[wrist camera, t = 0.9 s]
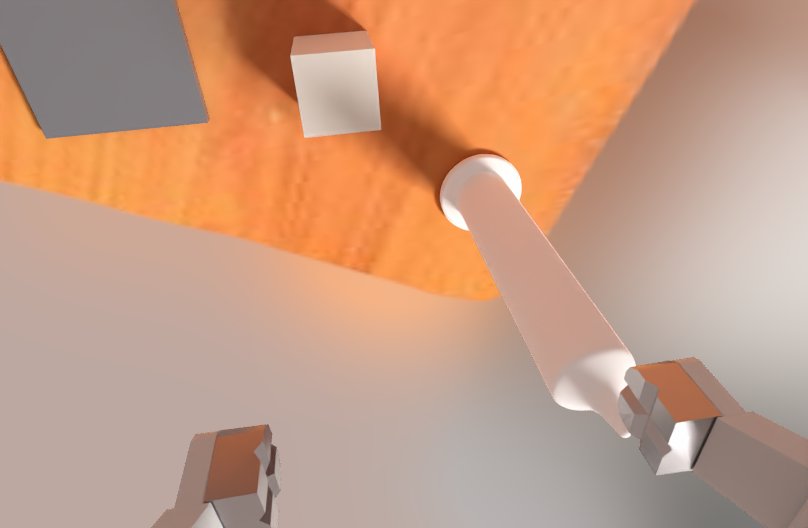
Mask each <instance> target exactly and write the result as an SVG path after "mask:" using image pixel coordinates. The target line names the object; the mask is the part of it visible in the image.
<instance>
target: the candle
mask: <svg viewBox="0 0 808 528" xmlns="http://www.w3.org/2000/svg"><path fill="white" fill-rule="evenodd" d="M521 189H522V187H521V179H520V176H519V174H518V172H517V170H516V169H515V167H514V166H513V165H512V164H511V163H510V162H509V161H507V160H506V159H504V158H502V157H500V156H497V155H493V154H479V155H474V156H471V157H468V158H466V159H464V160H462V161H461V162H459V163H458V164H457V165H455V166H454V167H453V168H452V169H451V170H450V171H449V173H448V174H447V176H446V177H445V179H444V181H443V183H442V186H441V190H440V204H441V208H442V210H443V212H444V214H445V216H446V217H447V219H448V220H449V221H450V222H451V223H452V224H454V225H455V226H457V227H459V228H461V229H464V230H468V231H470V233H471V235H472V237H473V239H474V241H475V243H476V245H477V247H478V249H479V251H480V253H481V255H482V257H483V259H484V261H485V263H486V265H487V267H488V269H489V271H490V273H491V275H492V277H493V279H494V281H495V283H496V285H497V287H498V289H499V291H500V293H501V295H502V297H503V299H504V301H505V303H506V305H507V307H508V309H509V311H510V313H511V316H512V318H513V319H514V322H515V324H516V325H517V328H518V330H519V331H520V334H521V336H522V338H523V340H524V342H525V344H526V346H527V348H528V350H529V352H530V354H531V356H532V358H533V360H534V362H535V364H536V366H537V368H538V370H539V372H540V374H541V376H542V378H543V380H544V382H545V384H546V386H547V388H548V390H549V392H550V394H551V396H552V398H553V399H554V400H555V401H556V402H557V403H558V404H559V405H561V406H563V407H565V408H568V409H572V410H593V411H595V412H596V413H598V414H599V415H601V416H602V417H603V418H604V419H605V420H606V421H607V422H608V423H609V424H610V426H611V427H613V429H614V430H615V431H616V432H617V433H618V434H619V435H620V436H621V437H623V438H628V437H629V436H630V435H631V434H630V433H629V432H628V430H627V429H626V427H625V425H624V424H623V422H622V419H621V416H620V414H619V407H618V399H619V394H620V392H621V391H622V390H623V389H624V388H625V387H626V386H627V385H628V384H627V383H626V381H625V380H624V376H625V373H626V371H627V370H628V369H629V368H630V367H634V366H636V365H635V361H634V359H633V356H632V355H631V354H630V352H629V351H628V350H627V348H626V347H625V345H624V344H623V343H622V341H621V340H620V339H619V337H618V336H617V335H616V333H615V332H614V330H613V329H612V327H611V326H610V325H609V323H608V322H607V321H606V319H605V318H604V317H603V315H602V314H601V312H600V311H599V310H598V308H597V307H596V305H595V304H594V303H593V301H592V300H591V299H590V297H589V296H588V295H587V293H586V292H585V291H584V289H583V288H582V286H581V285H580V284H579V282H578V281H577V279H576V278H575V277H574V275H573V274H572V273H571V271H570V270H569V268H568V267H567V266H566V265H565V263H564V262H563V260H562V259H561V258H560V256H559V255H558V254H557V252H556V251H555V250H554V248H553V247H552V245H551V244H550V243H549V241H548V240H547V238H546V237H545V236H544V234H543V233H542V231H541V230H540V229H539V227H538V226H537V225H536V223H535V222H534V220H533V219H532V218H531V216H530V215H529V214H528V212H527V211H526V209H525V208H524V207H523V205H522V204H521V203H520V201H519V199H520V196H521Z"/></svg>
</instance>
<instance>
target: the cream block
mask: <svg viewBox="0 0 808 528" xmlns="http://www.w3.org/2000/svg"><path fill="white" fill-rule="evenodd" d="M290 58H291V64H292V69H293V75H294V81H295V86H296V92H297V98H298V104H299V109H300V115H301V121H302V127H303V132H304V138H308V137H317V136H327V135H337V134H347V133H357V132H366V131H376V130H381V119H380V107H379V95H378V82H377V70H376V58H375V48H374V46H373V43H372V41H371V39H370V37H369V35H368V32H367V30H365V31H354V32H342V33H330V34H318V35H306V36H294V39H293V44H292V49H291V54H290Z"/></svg>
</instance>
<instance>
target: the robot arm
mask: <svg viewBox="0 0 808 528" xmlns="http://www.w3.org/2000/svg"><path fill="white" fill-rule="evenodd" d="M624 380H625V381H626V383H627V384H628V385H627V386H626V387H625V388H624V389H623V390H622V391H621V392H620V394H619V399H618V407H619V414H620V416H621V419H622V422H623V424H624V425H625V427H626V429H627V430H628V432H629V433H630V434H632V435H634V436H635V437H637V438H639V439H640V447H639V450H640V451H641V453H642V455H643V456H644V458H645V459H646V461H647V463H648V464H649V466H650V467H651V469H652V470H653V472H654V474H655V475H662V474H668V473H675V472H682V471H689V470H693V471H692V472H693V473H694V474H695V475H697V476H698V477H699V478H701V479H702V480H703V481H705V482H706V483H707V484H709V485H710V486H711V487H713V488H714V489H716V490H717V491H718V492H719V493H721V494H722V495H723V496H725V497H726V498H727V499H729V500H730V501H732V502H733V503H734V504H735V505H737V506H738V507H739V508H741V509H742V510H744V511H745V512H746V513H748V514H749V515H750V516H751V517H753V518H754V519H755V520H757V521H758V522H760V523H761V524H762V525H764V526H765V527H766V528H808V440H807V439H806V438H804V437H802V436H800V435H798V434H796V433H794V432H792V431H790V430H788V429H786V428H784V427H782V426H780V425H778V424H776V423H774V422H772V421H770V420H768V419H766V418H764V417H762V416H760V415H758V414H756V413H754V412H745V410H744V409H743V408H742V407H741V406H740V405H739V404H738V403H737V402H736V400H735V399H734V398H733V397H732V396H731V395H730V394H729V393H728V391H727V390H726V389H725V388H724V387H723V386H722V385H721V384H720V383H719V381H718V380H717V379H716V378H715V377H714V376H713V375H712V374H711V373H710V371H709V370H708V369H707V368H706V367H705V366H704V365H703V364H702V362H701V361H699V360H698V359H696V358H694V357H692V358H685V359H679V360H673V361H663V362H658V363H652V364H646V365H640V366H634V367H630V368H629V369H628V370H627V371H626V373H625V376H624ZM271 441H272V432H271V430H270V427H269V425H259V426H252V427H244V428H236V429H228V430H221V431H214V432H207V433H200V434H195V436H194V437H193V439H192V441H191V443H190V447H189V451H188V455H187V459H186V463H185V467H184V471H183V475H182V479H181V483H180V487H179V492H178V495H177V500H176V503H175V508H172V509H167V510H166V511H165V512H164V514H163V515H162V516H161V517H160V518H159V519H158V521H157V522H156V523H155V524H154V525H153V526H152V527H151V528H278V520H279V509H278V506H277V503H276V501H275V498H276V496H277V495H278V493H279V492H280V490H281V466H280V459H279V454H278V451H277V447H276V446H274V445H272V444H271Z"/></svg>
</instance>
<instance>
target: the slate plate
mask: <svg viewBox="0 0 808 528" xmlns="http://www.w3.org/2000/svg"><path fill="white" fill-rule="evenodd" d="M0 45H1V47H2V49H3V51H4V53H5V55H6V57H7V59H8V61H9V63H10V65H11V67H12V69H13V71H14V73H15V76H16V78H17V80H18V82H19V84H20V86H21V88H22V90H23V92H24V94H25V96H26V98H27V100H28V102H29V104H30V106H31V108H32V111H33V113H34V115H35V117H36V119H37V121H38V123H39V125H40V127H41V129H42V131H43V133H44V135H45V137H46V139H47V138H57V137H68V136H78V135H88V134H98V133H108V132H118V131H128V130H138V129H148V128H158V127H168V126H179V125H189V124H199V123H208V121H209V115H208V112H207V108H206V104H205V101H204V97H203V94H202V90H201V87H200V83H199V80H198V76H197V73H196V69H195V66H194V62H193V58H192V55H191V51H190V48H189V44H188V41H187V37H186V34H185V30H184V27H183V23H182V20H181V16H180V12H179V9H178V5H177V2H176V0H0Z"/></svg>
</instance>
